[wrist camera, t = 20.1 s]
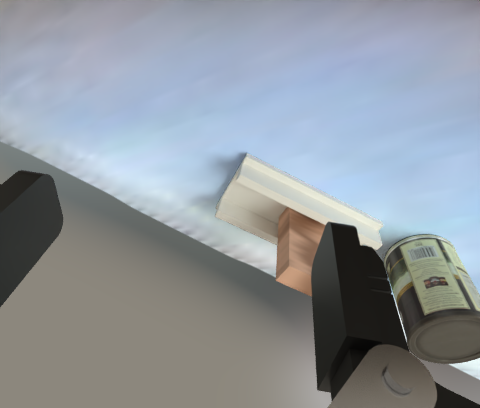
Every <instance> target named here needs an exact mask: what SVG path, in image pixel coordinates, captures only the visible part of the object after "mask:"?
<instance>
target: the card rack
mask: <svg viewBox="0 0 480 408" xmlns="http://www.w3.org/2000/svg"><path fill="white" fill-rule="evenodd" d="M287 207H289V208H291V209H293V210H295V211H298V212H300V213H302V214H304V215H306V216H308V217H310V218H312V219H314V220H316V221H318V222H320V223H322V224H324V225H326V224H327V222H335V223H341V224H347V225H353V226H355V227H356V228H357V232H358V237H359V241H360V245H364V244H365V245H367V246H369V247H372V248H373V249H375V250H378V249H379V248H380V247H381V246H382V245H383V244H382V241H381V237H380V234H379V230H380V229H381V228H382V227H383V223H382V221H380V220H378V219H376V218H374V217H372V216H370V215H368V214H366V213H364V212H362V211H360V210H358V209H357V208H355V207H353V206H351V205H349V204H347V203H345V202H343V201H341V200H339V199H337V198H335V197H333V196H331V195H329V194H327V193H325V192H323V191H321V190H319V189H317V188H315V187H313V186H311V185H309V184H307V183H305V182H303V181H301V180H299V179H297V178H296V177H294V176H292V175H290V174H288V173H286V172H284V171H282V170H280V169H278V168H276V167H274V166H272V165H270V164H268V163H266V162H264V161H262V160H260V159H258V158H256V157H254V156H252V155H250V154H248V153H247V154H246V156H245V158H244V159H243V161H242V163H241V165H240V166H239V168H238V170H237V171H236V173H235V175H234V176H233V178H232V180H231V181H230V183H229V185H228V187H227V188H226V190H225V192H224V193H223V195H222V197H221V198H220V200H219V202H218V203H217V206H216V209H217V211H216V214H215V217H217V218H219V219H221V220H224V221H226V222H228V223H230V224H232V225H234V226H237V227H239V228H241V229H243V230H245V231H247V232H250V233H252V234H254V235H256V236H258V237H260V238H263V239H265V240H267V241H269V242H271V243H273V244H276V245H278V224H279V217H280V215H281V214H282V213H283V211H284V210H285V209H286V208H287Z"/></svg>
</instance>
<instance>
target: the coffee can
mask: <svg viewBox="0 0 480 408" xmlns="http://www.w3.org/2000/svg"><path fill="white" fill-rule="evenodd" d="M384 265H385V268H386V270H387V274H388V277H389V280H390V283H391V286H392V290H393V293H394V296H395V300H396V303H397V306H398V310H399V314H400V317H401V320H402V324H403V327H404V330H405V334H406V337H407V344H408V347H409V349H410V351H411V352H412V353H413V354H414V355H415V356H417V357H419V358H420V359H423V360H426V361H429V362H434V363H442V364H453V363H462V362H467V361H471V360H475V359H478V358H480V295H479V293H478V291H477V289H476V288H475V286H474V284H473V282H472V280H471V278H470V277H469V275H468V273H467V271H466V269H465V267H464V266H463V264H462V262H461V260H460V258H459V257H458V255H457V253H456V250H455V248H454V246H453V245H452V244H451V242H449V241H448V240H446V239H444V238H442V237H440V236H436V235H427V234H426V235H416V236H412V237H408V238H406V239H403V240H401V241H399V242H398V243H396V244H395V245H394V246H392V247H391V248H390V249H389V251H388V252H387V254H386V256H385V259H384Z"/></svg>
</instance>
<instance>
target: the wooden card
mask: <svg viewBox="0 0 480 408" xmlns="http://www.w3.org/2000/svg"><path fill="white" fill-rule="evenodd" d="M325 226H326V225H324V224H322V223H320V222H318V221H316V220H314V219H312V218H310V217H308V216H306V215H304V214H302V213H300V212H298V211H295V210H293V209H291V208H289V207H287V208H286V209H285V210H284V211H283V213H282V214H281V215H280V217H279V224H278V245H277V266H276V281H278V282H280V283H282V284H284V285H287V286H289V287H291V288H294V289H296V290H298V291H300V292H303V293H305V294H307V295H309V296H312V288H311V271H312V264H313V260H314V257H315V254H316V251H317V248H318V246H319V243H320V240H321V237H322V234H323V231H324V228H325Z"/></svg>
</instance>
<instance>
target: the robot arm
mask: <svg viewBox="0 0 480 408" xmlns="http://www.w3.org/2000/svg"><path fill="white" fill-rule="evenodd" d="M62 225H63V214H62V210H61V207H60V203H59V199H58V195H57V191H56V187H55V183H54V180H53V178H52V177H51V176H50V175H48V174H42V173H36V172H30V171H23V170H21V171H18V172H16V173H15V174H14V175H13V176H11V177H10V178H9V179H8V180H7V181H5V182H4V183H3V184H2V185H1V184H0V307H1V305H3V303H4V302H5V301H6V300H7V298H8V297H9V296H10V295H11V293H12V292H13V291H14V290H15V289H16V287H17V286H18V285H19V283H20V282H21V281H22V280H23V279H24V277H25V276H26V275H27V274H28V272H29V271H30V270H31V269H32V267H33V266H34V265H35V264H36V263H37V261H38V260H39V259H40V257H41V256H42V255H43V254H44V252H45V251H46V250H47V249H48V247H49V246H50V245H51V244H52V243H53V241H54V240H55V239H56V238H57V237H58V235H59V233H60V231H61V229H62ZM387 279H388V277H387V274H386V270H385V267H384V263H383V261H382V260H381V259H380V257H379V256H378V255H377V253H376V252H375V251H374V249H373V248H372V247H369V246H363V245H360V241H359V237H358V232H357V228H356V227H355V226H353V225H347V224H341V223H335V222H327V224H326V226H325V228H324V231H323V234H322V237H321V240H320V243H319V246H318V248H317V251H316V254H315V257H314V260H313V264H312V271H311V288H312V305H313V322H314V339H315V355H316V373H317V390H319V391H325V392H331V398H332V402H331V404H330V405H329V406H328V408H480V405H479V404H477V403H475V402H473V401H471V400H469V399H466V398H465V397H462V396H461V395H458V394H456V393H454V392H452V391H450V390H448V389H446V388H444V387H443V386H441V385H439V384H438V383H436V382H435V381H434V380H433V377H432V376H431V374H430V372H429V370H428V369H427V368H426V367H425V365H424V364H423V363H422V362H421V361H420V360H419V359H418V358H417V357H415V356H414V355H413V354H411V353H410V352H409V349H408V346H407V342H406V339H405V336H404V332H403V329H402V325H401V322H400V318H399V315H398V311H397V308H396V305H395V301H394V298H393V295H391V292H392V291H391V287H390V284H389V281H387Z"/></svg>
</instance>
